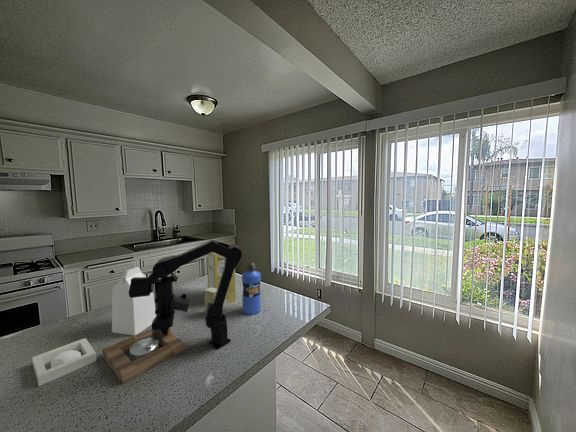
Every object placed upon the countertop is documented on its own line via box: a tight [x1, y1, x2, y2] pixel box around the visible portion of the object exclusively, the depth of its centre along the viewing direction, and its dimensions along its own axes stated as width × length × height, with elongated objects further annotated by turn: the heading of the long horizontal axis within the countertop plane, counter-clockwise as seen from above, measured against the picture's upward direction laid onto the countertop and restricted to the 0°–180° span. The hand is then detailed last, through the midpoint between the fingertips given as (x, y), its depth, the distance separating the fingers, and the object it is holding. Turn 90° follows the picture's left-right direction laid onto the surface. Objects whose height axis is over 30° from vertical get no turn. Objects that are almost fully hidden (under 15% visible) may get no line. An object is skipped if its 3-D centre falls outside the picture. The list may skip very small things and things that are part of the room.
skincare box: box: [204, 287, 217, 312], centre depth 116 cm, size 6×4×12 cm
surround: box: [101, 327, 186, 385], centre depth 86 cm, size 20×20×3 cm
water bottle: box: [241, 261, 262, 316], centre depth 118 cm, size 9×9×25 cm
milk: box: [111, 266, 157, 336], centre depth 103 cm, size 12×12×26 cm
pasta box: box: [206, 252, 236, 305], centre depth 133 cm, size 18×10×28 cm, turn 31°
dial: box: [129, 327, 171, 362], centre depth 88 cm, size 14×9×7 cm, turn 142°
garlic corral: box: [31, 337, 97, 387], centre depth 81 cm, size 14×14×3 cm
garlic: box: [50, 350, 82, 368], centre depth 81 cm, size 8×7×4 cm
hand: (165, 334), depth 87 cm, fingers closed
